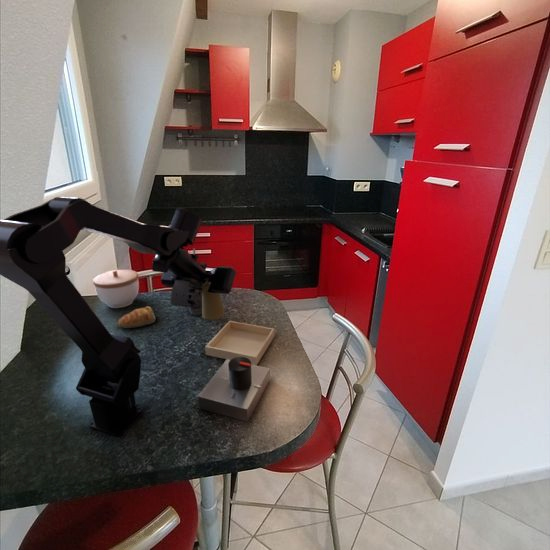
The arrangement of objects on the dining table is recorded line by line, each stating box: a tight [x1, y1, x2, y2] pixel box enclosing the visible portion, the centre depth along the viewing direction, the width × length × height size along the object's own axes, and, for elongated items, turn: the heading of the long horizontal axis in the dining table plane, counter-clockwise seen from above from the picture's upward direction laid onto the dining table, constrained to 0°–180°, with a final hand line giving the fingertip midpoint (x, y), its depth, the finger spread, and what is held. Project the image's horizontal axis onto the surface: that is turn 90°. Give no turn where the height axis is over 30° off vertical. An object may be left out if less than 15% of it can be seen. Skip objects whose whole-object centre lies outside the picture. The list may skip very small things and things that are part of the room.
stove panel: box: [197, 359, 271, 422], centre depth 64 cm, size 12×10×3 cm
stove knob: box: [228, 357, 252, 390], centre depth 62 cm, size 4×4×5 cm
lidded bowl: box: [92, 269, 140, 309], centre depth 100 cm, size 13×13×11 cm
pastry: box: [117, 305, 156, 329], centre depth 90 cm, size 9×7×4 cm
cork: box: [201, 274, 226, 321], centre depth 83 cm, size 6×6×11 cm
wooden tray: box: [204, 320, 276, 366], centre depth 80 cm, size 13×13×2 cm
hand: (213, 290), depth 84 cm, fingers closed on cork, 5 cm apart
